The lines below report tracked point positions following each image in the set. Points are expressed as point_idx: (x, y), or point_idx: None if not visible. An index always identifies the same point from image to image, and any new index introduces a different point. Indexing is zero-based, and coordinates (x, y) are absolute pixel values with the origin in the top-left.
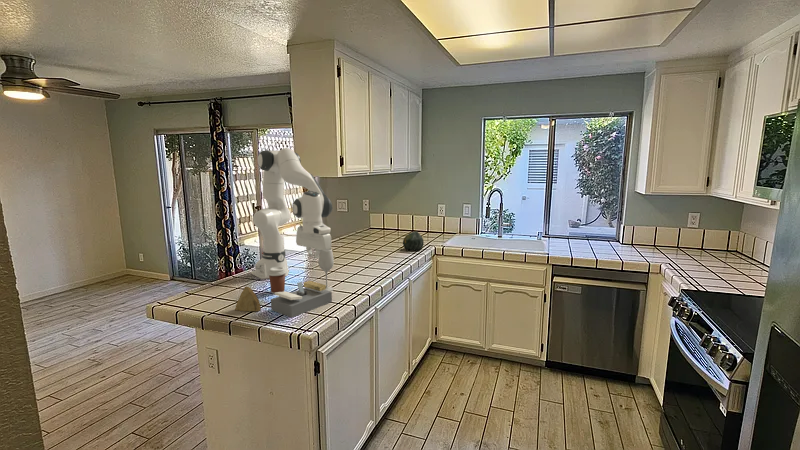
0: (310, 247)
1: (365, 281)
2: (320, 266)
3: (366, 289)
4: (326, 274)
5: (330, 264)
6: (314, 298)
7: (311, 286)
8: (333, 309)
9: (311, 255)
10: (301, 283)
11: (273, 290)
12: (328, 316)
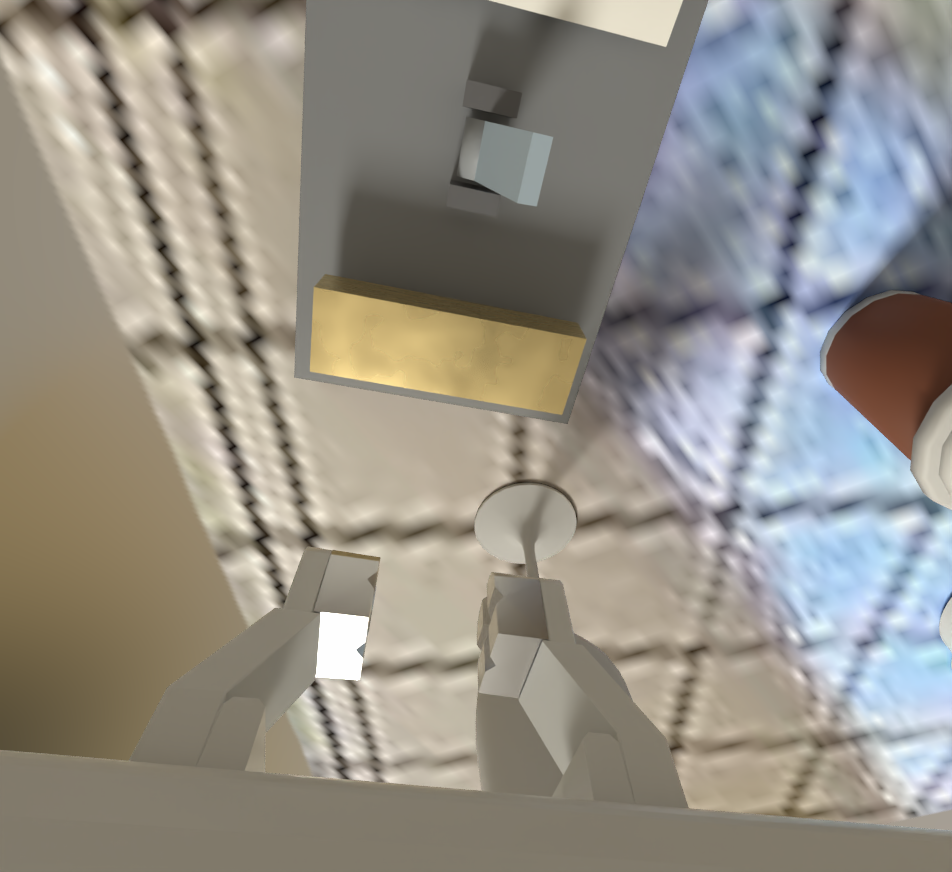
0: (426, 797)
1: (392, 700)
2: None
3: None
4: None
5: (480, 696)
6: (303, 140)
7: (456, 307)
8: (177, 201)
9: (488, 611)
10: (510, 191)
11: (917, 298)
12: (66, 11)
